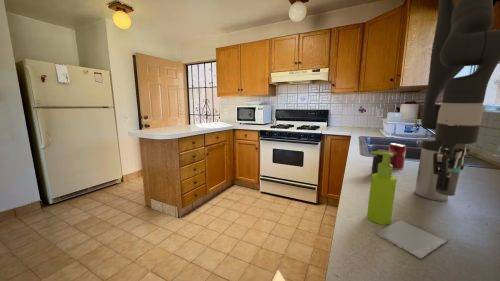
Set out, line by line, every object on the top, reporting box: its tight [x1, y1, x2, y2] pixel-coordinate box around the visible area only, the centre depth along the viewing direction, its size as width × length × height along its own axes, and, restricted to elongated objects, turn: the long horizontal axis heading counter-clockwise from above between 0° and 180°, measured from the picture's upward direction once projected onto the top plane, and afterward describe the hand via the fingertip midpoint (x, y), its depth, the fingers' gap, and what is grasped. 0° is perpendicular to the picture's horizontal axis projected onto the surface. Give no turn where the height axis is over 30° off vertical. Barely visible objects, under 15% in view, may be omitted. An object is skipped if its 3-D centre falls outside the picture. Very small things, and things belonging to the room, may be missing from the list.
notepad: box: [375, 218, 449, 252], centre depth 53 cm, size 13×10×1 cm
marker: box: [435, 167, 462, 197], centre depth 54 cm, size 4×4×7 cm
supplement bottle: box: [370, 149, 391, 175], centre depth 96 cm, size 7×7×12 cm
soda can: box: [388, 142, 407, 170], centre depth 108 cm, size 7×7×12 cm
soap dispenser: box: [366, 150, 398, 226], centre depth 60 cm, size 6×7×20 cm
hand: (445, 187), depth 54 cm, fingers closed on marker, 3 cm apart
